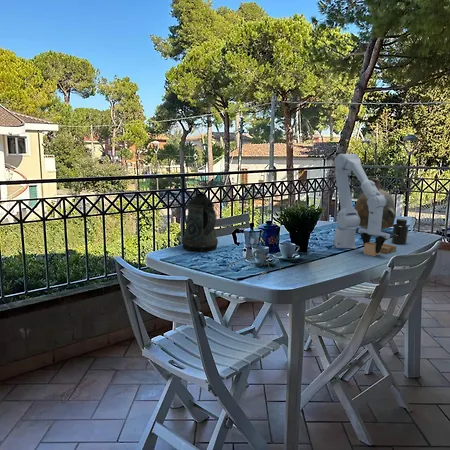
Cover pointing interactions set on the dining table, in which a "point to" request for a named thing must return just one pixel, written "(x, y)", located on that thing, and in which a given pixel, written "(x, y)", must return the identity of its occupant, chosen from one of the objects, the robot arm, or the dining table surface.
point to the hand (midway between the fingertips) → (372, 251)
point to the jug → (388, 209)
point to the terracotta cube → (370, 249)
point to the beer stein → (200, 225)
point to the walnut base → (387, 248)
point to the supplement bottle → (400, 232)
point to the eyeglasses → (262, 263)
